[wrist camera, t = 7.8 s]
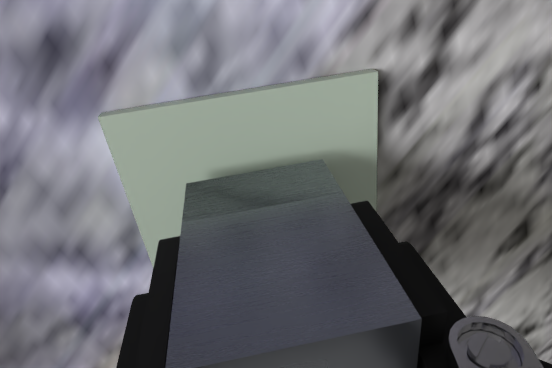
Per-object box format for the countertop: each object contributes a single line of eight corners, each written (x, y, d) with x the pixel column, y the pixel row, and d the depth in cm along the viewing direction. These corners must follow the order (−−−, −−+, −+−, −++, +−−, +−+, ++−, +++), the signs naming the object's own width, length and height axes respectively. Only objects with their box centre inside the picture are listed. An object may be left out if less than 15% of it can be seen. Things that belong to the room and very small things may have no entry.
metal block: (322, 159, 11) (422, 318, 6) (332, 303, 14) (403, 495, 9) (186, 183, 11) (164, 374, 6) (225, 326, 14) (234, 538, 9)
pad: (371, 305, 16) (375, 312, 16) (185, 344, 16) (184, 352, 15) (372, 68, 11) (377, 71, 11) (101, 112, 11) (97, 117, 10)
